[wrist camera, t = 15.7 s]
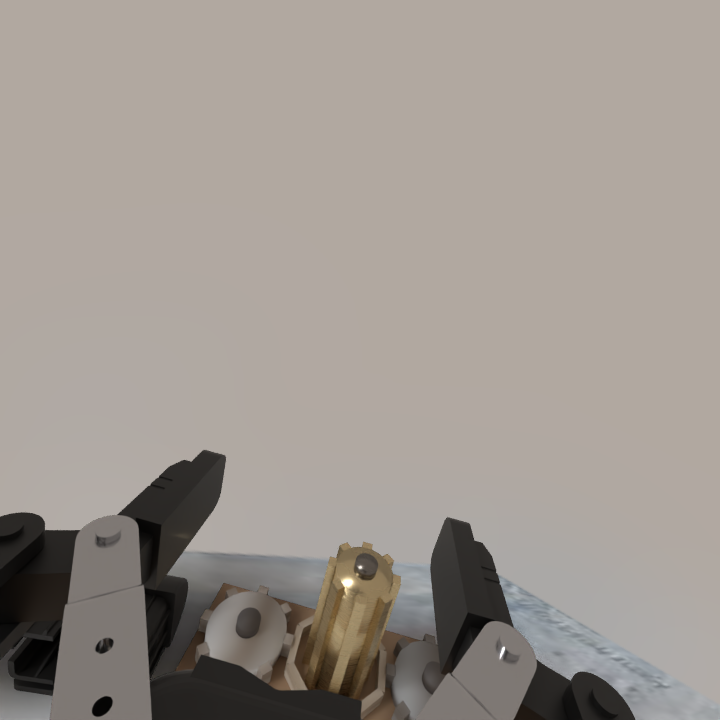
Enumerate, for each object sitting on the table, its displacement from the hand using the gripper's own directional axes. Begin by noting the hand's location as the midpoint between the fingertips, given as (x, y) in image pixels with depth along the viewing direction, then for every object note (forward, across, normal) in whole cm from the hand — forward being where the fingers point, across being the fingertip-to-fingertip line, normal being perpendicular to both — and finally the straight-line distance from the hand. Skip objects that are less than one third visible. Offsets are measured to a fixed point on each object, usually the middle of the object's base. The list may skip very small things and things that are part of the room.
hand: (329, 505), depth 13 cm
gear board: (+12, -4, +27) cm, 30 cm away
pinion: (+12, -4, +26) cm, 29 cm away
